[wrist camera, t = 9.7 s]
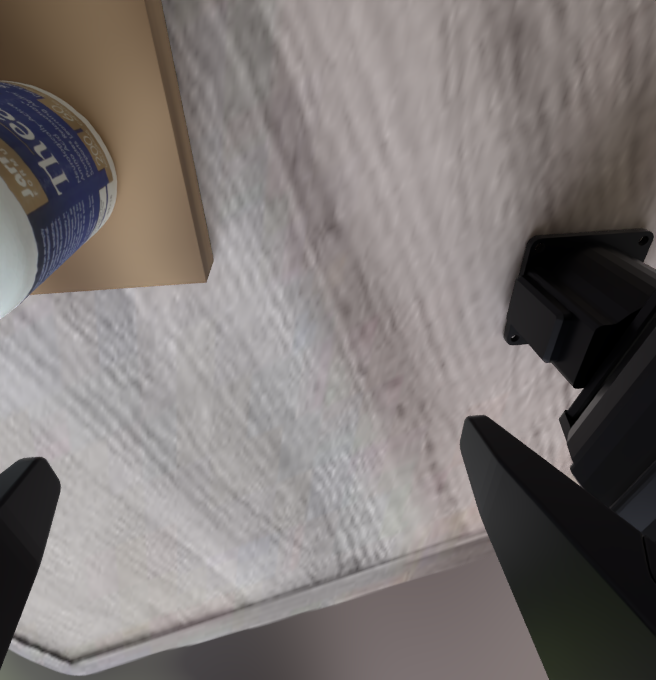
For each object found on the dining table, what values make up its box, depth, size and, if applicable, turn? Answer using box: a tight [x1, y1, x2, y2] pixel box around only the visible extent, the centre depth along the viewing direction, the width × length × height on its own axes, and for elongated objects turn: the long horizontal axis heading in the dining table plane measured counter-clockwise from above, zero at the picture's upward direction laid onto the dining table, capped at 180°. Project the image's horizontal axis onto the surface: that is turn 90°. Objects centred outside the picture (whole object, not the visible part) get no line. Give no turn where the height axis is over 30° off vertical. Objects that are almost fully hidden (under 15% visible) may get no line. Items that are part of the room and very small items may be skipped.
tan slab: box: [0, 0, 214, 295], centre depth 16 cm, size 10×10×2 cm
